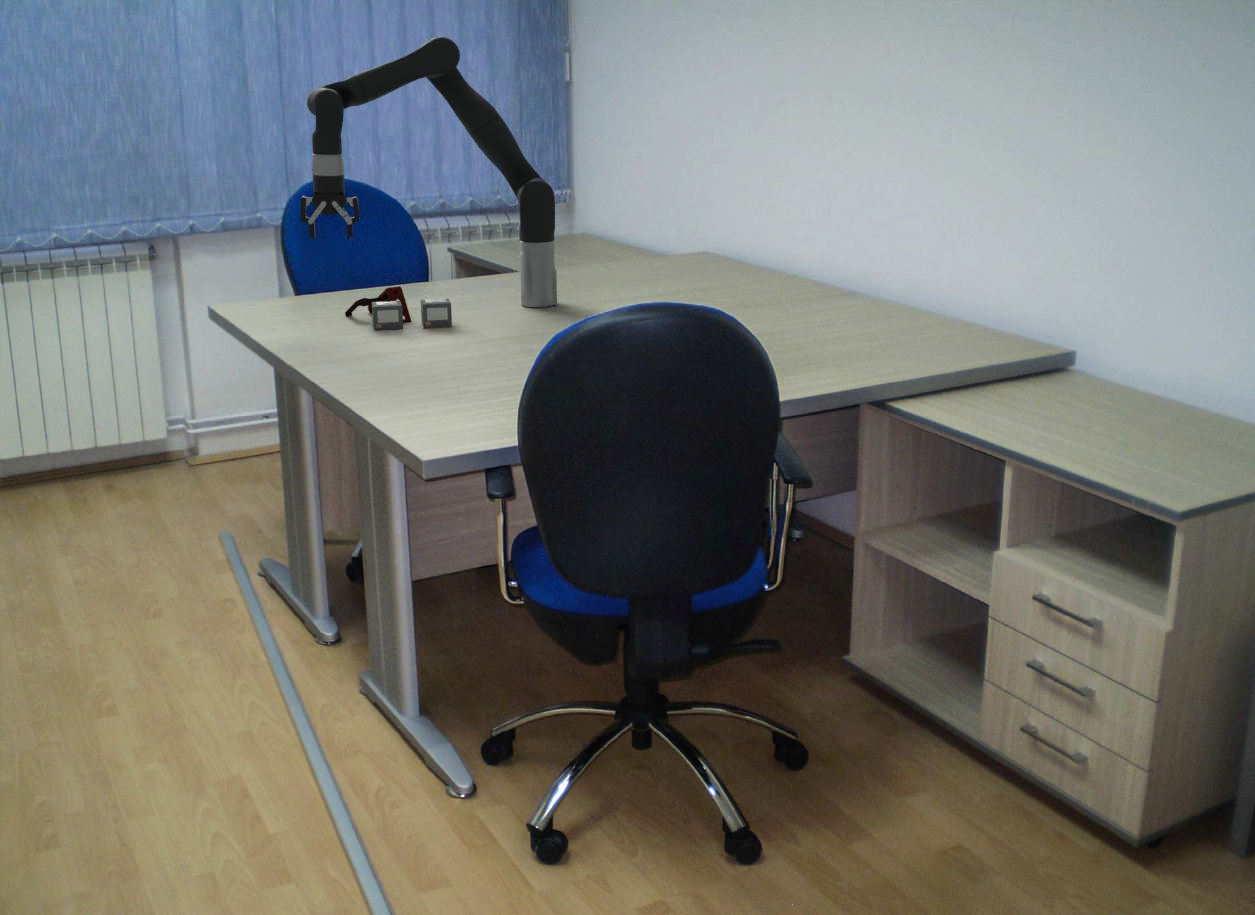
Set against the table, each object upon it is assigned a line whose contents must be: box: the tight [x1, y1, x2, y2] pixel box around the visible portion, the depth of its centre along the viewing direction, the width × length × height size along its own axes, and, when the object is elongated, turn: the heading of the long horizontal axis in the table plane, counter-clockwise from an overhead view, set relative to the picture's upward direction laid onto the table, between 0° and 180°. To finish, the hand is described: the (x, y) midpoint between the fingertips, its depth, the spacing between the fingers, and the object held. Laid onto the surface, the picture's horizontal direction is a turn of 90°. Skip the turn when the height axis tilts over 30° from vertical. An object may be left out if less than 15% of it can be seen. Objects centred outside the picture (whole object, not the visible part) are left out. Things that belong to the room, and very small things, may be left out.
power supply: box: [371, 300, 404, 332], centre depth 314 cm, size 7×6×6 cm
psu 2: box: [420, 298, 453, 329], centre depth 317 cm, size 7×6×6 cm
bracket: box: [344, 285, 413, 325], centre depth 325 cm, size 10×14×10 cm
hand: (331, 239), depth 317 cm, fingers open, 8 cm apart
